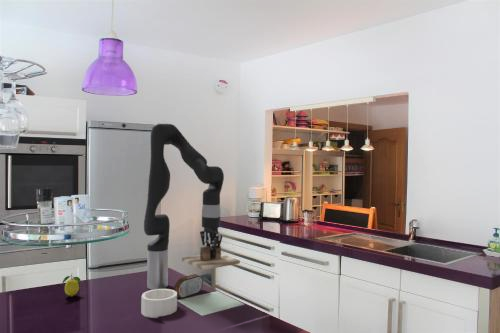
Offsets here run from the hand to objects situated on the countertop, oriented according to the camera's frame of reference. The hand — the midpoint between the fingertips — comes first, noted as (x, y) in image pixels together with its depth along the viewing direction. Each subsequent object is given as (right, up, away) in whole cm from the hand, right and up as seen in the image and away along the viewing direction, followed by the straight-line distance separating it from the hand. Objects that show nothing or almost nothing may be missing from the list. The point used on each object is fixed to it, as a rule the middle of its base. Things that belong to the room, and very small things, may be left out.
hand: (210, 257), depth 160 cm
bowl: (-19, -19, -8) cm, 28 cm away
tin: (-10, -19, +10) cm, 24 cm away
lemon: (-60, -19, +7) cm, 63 cm away
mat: (0, -19, 0) cm, 19 cm away
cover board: (0, -2, 0) cm, 2 cm away
